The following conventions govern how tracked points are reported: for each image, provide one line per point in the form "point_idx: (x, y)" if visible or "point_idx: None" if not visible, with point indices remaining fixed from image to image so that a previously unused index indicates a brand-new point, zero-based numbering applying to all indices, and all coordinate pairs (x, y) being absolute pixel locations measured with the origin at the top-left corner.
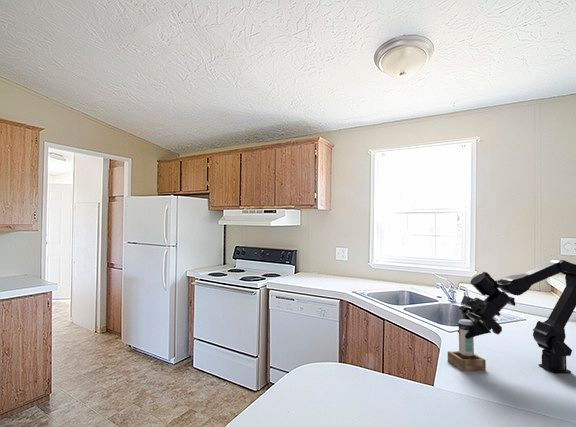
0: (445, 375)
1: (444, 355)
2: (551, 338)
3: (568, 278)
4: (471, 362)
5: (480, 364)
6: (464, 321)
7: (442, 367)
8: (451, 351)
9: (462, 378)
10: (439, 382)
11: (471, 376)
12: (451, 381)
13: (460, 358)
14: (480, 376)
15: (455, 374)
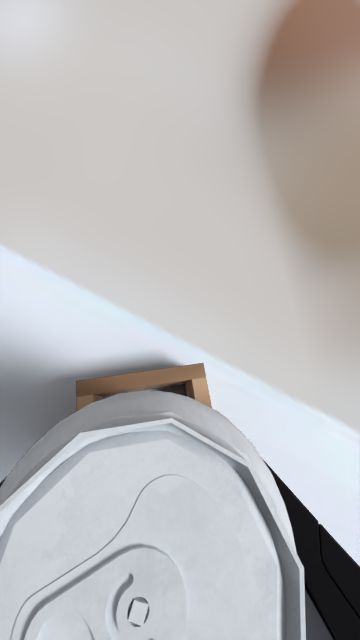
0: (54, 295)
1: (260, 387)
2: None
3: None
4: None
5: None
6: (23, 490)
7: (127, 318)
8: (204, 383)
9: (20, 346)
10: (3, 251)
11: (34, 395)
12: (3, 292)
13: (104, 383)
14: (28, 440)
15: (60, 336)
